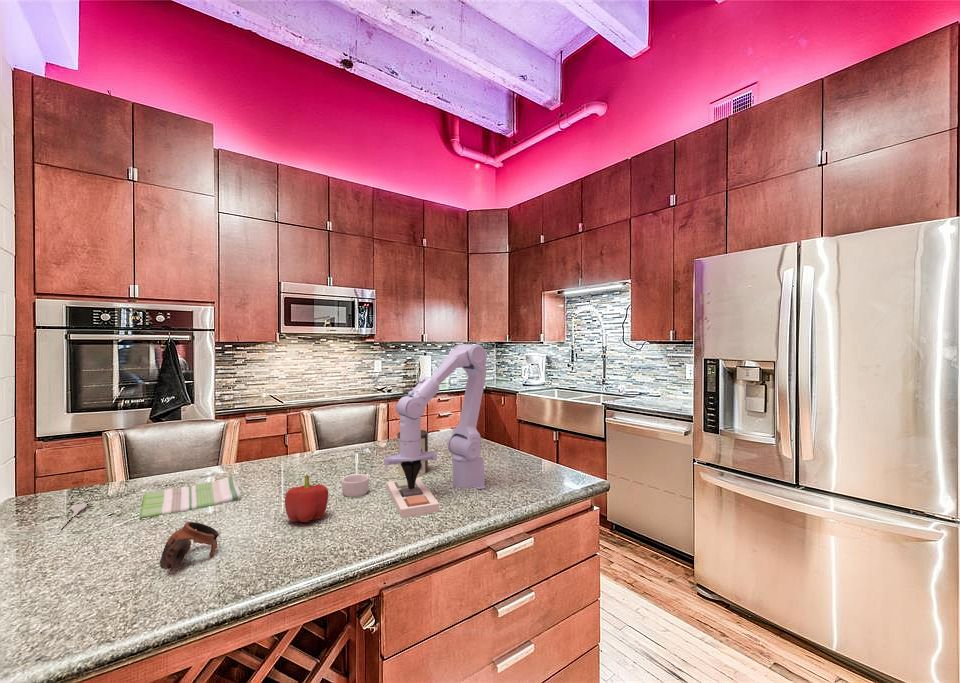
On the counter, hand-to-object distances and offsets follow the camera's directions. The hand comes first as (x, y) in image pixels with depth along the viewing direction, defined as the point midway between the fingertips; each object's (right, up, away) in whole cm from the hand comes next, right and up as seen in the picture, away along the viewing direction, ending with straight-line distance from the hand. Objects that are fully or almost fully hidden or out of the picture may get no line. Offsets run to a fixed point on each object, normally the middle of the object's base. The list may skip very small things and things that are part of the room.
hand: (411, 487), depth 120 cm
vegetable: (-25, -5, -10) cm, 27 cm away
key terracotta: (+3, -4, -7) cm, 8 cm away
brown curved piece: (-42, -5, -30) cm, 52 cm away
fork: (-86, -5, -9) cm, 87 cm away
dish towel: (-63, -5, +3) cm, 63 cm away
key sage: (-3, -4, +7) cm, 8 cm away
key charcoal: (0, -4, 0) cm, 4 cm away
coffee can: (-3, -4, +25) cm, 25 cm away
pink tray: (0, -4, 0) cm, 4 cm away
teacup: (-18, -4, +6) cm, 19 cm away
